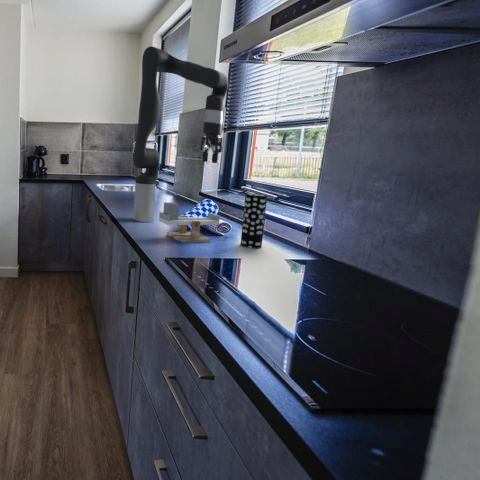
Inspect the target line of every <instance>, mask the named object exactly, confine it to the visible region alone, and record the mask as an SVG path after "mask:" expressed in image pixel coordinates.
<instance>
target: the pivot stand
mask: <svg viewBox="0 0 480 480" xmlns="http://www.w3.org/2000/svg"><path fill="white" fill-rule="evenodd" d="M179 217H189V216H188V215H179ZM190 226H191V227H190V231H187V229H188V225H178V231H167V233H166V236H169V237H170V238H172V239H174V240H176V241H178V242H179V243H181V244H182V243H183V244H185V243H210V242H211V238H209V237H206V236H205V235H202V234H200V231H201V230H200V229H201V225H200V221H192V225H190Z"/></svg>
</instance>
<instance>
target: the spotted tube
mask: <svg viewBox="0 0 480 480" xmlns="http://www.w3.org/2000/svg"><path fill="white" fill-rule="evenodd" d="M244 198H245V199H244V206H243V207H244V208H243V215H242V225H241V236H240V237H241V238H240V243H239V245H240V246H241V247H244V248H251V249H260V248H262V244H263V236H264V228H265V218H266V212H267V211H266V210H267V201H268V195H264V194H259V193H251V192H250V193H245V196H244Z"/></svg>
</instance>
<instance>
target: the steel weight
mask: <svg viewBox="0 0 480 480" xmlns="http://www.w3.org/2000/svg"><path fill="white" fill-rule="evenodd" d="M162 211H163V212H162V213H165V214H167V215H170V220H178V217H180V204H179V203H177V202H166V201H165V202H163V210H162Z"/></svg>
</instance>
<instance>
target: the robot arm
mask: <svg viewBox="0 0 480 480" xmlns="http://www.w3.org/2000/svg"><path fill="white" fill-rule="evenodd" d="M141 60H142V62H141V91H140V102H139V109H138V110H139V111H138V121H137V131H136V137H135V141H134V147H133V153H132V162H133V166H134V167H135V168H137V169H145V171H144V172H143V173H142V174H140V175H136V177H135V180H134V181H135V182H134V185H135V186H134V200H133V201H134V202H133V203H134V204H133V218H132V219H133V221H134V222H140V223H141V222H142V223H151V222H154V221H155V220H154V219H155V218H154V216H155V205H156V203H155V202H156V190H157V189H156V186H157V180H158V176H159V167H160V166H159V165H160V154H159V151H158V149H156V148H150V147H147V142H148V139H149V136H150V135H151V134H152V132H153V131H154V130H155V128H156V127H157V125H159V122H160V120H161V112H162V100H161V97H160V93H159V89H158V86H157V77H158V73H165V74H166V73H167V74H172V75H177V76H179V77H181V78H183V79H185V80H187V81H190V82H193V83H196V84H200V85H203V86H205V87H206V88H207V87H208V88H210V89H212V91H211V94H210V95H207V96H206V99H205V111H204V115H203V117H204V118H203V126H202V127H203V128H202V133H203V134H205V135H204V136H203V135H202V136H201V139H200V148H199V149H200V151H201V152H202V158H201V159H202V162H204V163H205V162H208V159H209V151H210V150H211V152H212V153H211V154H212V155H211V163H213V164H217V163H218V158H219V154H220V153H222V151H223V150H222V149H223V148H222V147H223V137H222V136H221V135H222V128H223V112H224V111H223V110H224V108H223V107H224V101H225V98H226V94H227V91H228V88H229V79H228V77H227V76H228V75H226V74H225V73H224V72H221V71H219V70H217V69H214V68H211V67H206V66H203V65H201V64H198V63H194V62H192V61H187V60H183V59H179V58H177V57H175V56H173V55H172V54H170V53H169V52H166V51H165V50H164V49H162V48H158V47H155V46H147V47H146V48H145V50H144V51H143V54H142V59H141ZM220 136H221V137H220Z"/></svg>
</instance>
